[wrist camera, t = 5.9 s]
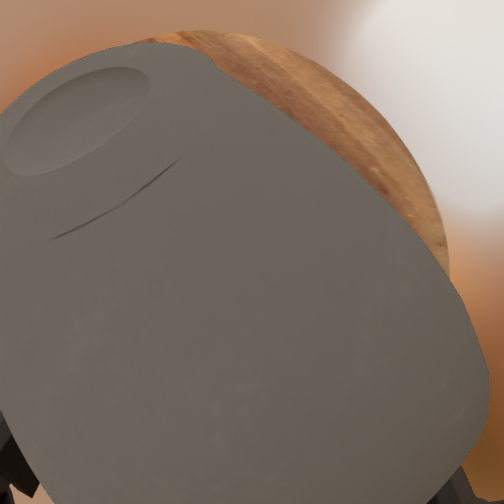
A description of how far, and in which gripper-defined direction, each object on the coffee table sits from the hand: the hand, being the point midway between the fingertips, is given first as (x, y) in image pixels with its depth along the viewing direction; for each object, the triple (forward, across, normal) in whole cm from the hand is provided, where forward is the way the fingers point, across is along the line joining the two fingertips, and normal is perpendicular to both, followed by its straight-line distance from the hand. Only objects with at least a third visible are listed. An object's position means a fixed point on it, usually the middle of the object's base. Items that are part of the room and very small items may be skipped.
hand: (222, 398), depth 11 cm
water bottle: (+14, 0, +11) cm, 18 cm away
